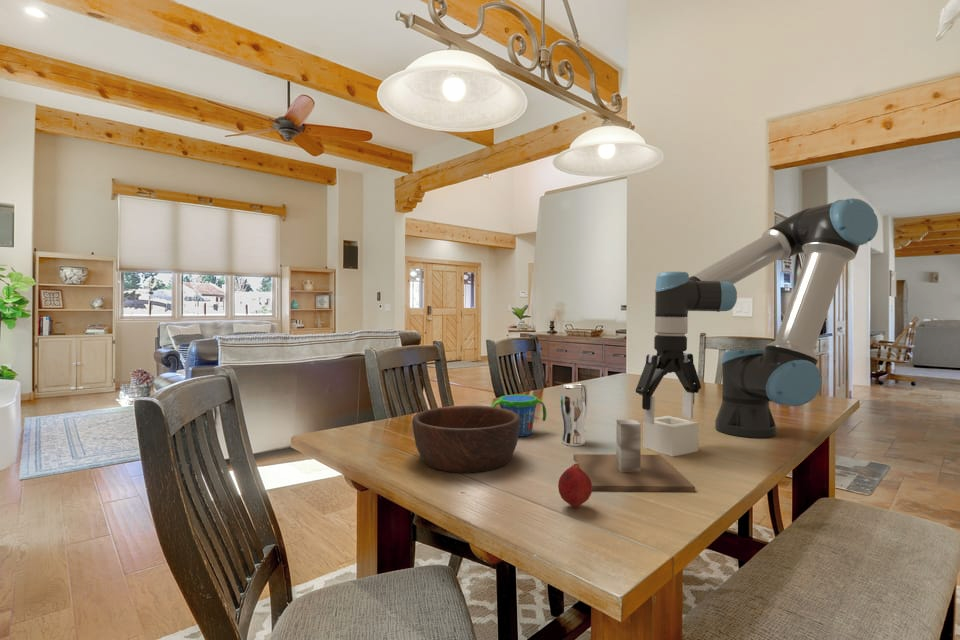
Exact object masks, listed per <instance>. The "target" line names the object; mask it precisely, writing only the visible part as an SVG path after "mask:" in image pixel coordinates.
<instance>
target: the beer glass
mask: <svg viewBox="0 0 960 640" xmlns="http://www.w3.org/2000/svg"><path fill="white" fill-rule="evenodd" d="M559 396H560V398H559V402H560V403H559V404H560V414H561V415H560V416H561V421H562V425H563V426H562V427H563V431H562V433H563V434H562V439H561V442H562V444H563V445H565V446H569V447H583V446H585V445H586V442H587V441H586V436H585V425H586V417H587V413H588V412H587V411H588V388H587V385H585V384H582V383H564V384H561V385H560V395H559Z"/></svg>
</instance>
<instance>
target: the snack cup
mask: <svg viewBox="0 0 960 640" xmlns="http://www.w3.org/2000/svg"><path fill="white" fill-rule="evenodd" d="M538 403H540V404H541V405H542V422H545V421H546V419H547V407H546V405H545V404H544V402H543V401H542V400H541V399H539V398H538V397H537V396H536V395H531V394H507V395H506V394H505V395H502V396H500V397H499V399H497V400H495V401H494V402H493V404H492V406H491V407H496V406H497V405H498V404H499V406H500V407H499V408H502V409H507V410H510V411H513V412H515V413H516V414H518V415H519V417H520V427H519V434H518V437H525V436H527V437H528V436H530V435H531V434H532V433H533V429H534V422H535V411H536V408H537V404H538Z"/></svg>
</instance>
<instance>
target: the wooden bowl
mask: <svg viewBox="0 0 960 640" xmlns="http://www.w3.org/2000/svg"><path fill="white" fill-rule="evenodd" d="M411 420H412V421H411V422H412V423H411V424H412V430H413V436H414V442H415V446H416V448H417V452H418V453H419V455H420V458H421V459H422V461H423V462H424V463H425V465H428V466H429V467H431V468H433V469H436V470H439V471H443V472H449V473H450V472H451V473H479V472H486V471H490V470H495V469H498V468H500V467H503V466H504V465H506V464H507V463H508V462H509V461H510V459H511V458H512V456H513V454H514V452H515V449H516V447H517V443H518V439H519V436H518V434H519V427H520V417H519V415H518V414H516V413H515V412H513V411H510V410H507V409H502V408H501V407H496V406H495V407H492V406H486V405H451V406H450V405H449V406H440V407H435V408H429V409H426V410H422V411H420V412H418V413H417V414H415V415H414V416H413V417H412V419H411Z"/></svg>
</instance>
